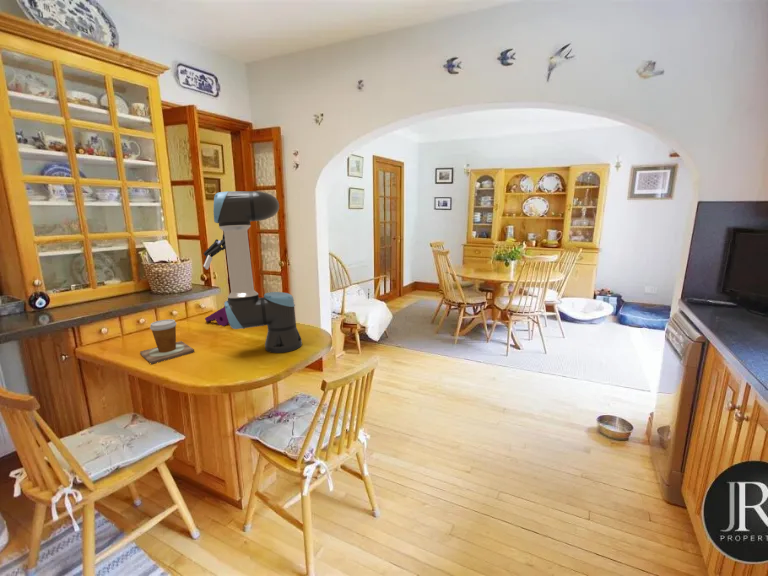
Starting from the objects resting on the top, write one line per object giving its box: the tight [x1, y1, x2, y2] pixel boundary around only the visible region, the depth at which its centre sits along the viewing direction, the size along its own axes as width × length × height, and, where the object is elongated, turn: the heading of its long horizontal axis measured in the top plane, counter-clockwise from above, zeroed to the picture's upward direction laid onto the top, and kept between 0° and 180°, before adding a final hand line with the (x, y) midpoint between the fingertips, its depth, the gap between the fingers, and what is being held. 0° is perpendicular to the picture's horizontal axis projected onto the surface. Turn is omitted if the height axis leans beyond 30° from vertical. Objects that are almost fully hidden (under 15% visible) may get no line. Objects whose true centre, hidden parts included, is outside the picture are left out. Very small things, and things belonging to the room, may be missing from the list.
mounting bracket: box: [204, 307, 230, 327], centre depth 195 cm, size 9×8×18 cm
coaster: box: [139, 340, 195, 365], centre depth 154 cm, size 16×16×1 cm
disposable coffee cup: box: [149, 318, 177, 353], centre depth 153 cm, size 10×10×12 cm
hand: (218, 267), depth 172 cm, fingers open, 13 cm apart
